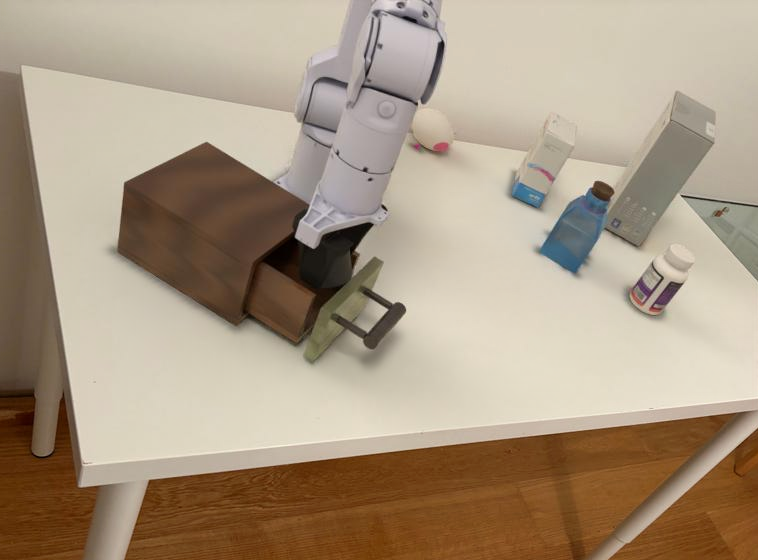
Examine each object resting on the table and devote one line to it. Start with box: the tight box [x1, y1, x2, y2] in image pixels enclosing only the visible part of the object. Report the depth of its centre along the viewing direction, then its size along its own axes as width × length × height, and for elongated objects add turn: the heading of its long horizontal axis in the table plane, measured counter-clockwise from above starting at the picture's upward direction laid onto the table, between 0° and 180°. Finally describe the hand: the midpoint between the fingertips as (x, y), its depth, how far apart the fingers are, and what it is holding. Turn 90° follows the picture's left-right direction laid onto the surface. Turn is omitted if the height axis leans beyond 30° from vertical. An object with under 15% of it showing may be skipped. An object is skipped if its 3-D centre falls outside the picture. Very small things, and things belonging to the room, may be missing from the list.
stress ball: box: [411, 107, 456, 152], centre depth 113 cm, size 8×8×7 cm
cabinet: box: [116, 141, 310, 327], centre depth 75 cm, size 15×13×9 cm
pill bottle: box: [629, 243, 696, 316], centre depth 103 cm, size 5×5×10 cm
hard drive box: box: [604, 90, 717, 247], centre depth 117 cm, size 16×8×20 cm, turn 160°
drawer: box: [244, 234, 407, 362], centre depth 74 cm, size 18×11×7 cm, turn 66°
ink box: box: [511, 111, 578, 209], centre depth 113 cm, size 9×5×12 cm, turn 168°
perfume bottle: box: [538, 180, 615, 275], centre depth 103 cm, size 6×6×12 cm
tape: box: [308, 249, 353, 288], centre depth 72 cm, size 5×5×3 cm
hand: (323, 270), depth 73 cm, fingers closed on tape, 5 cm apart
